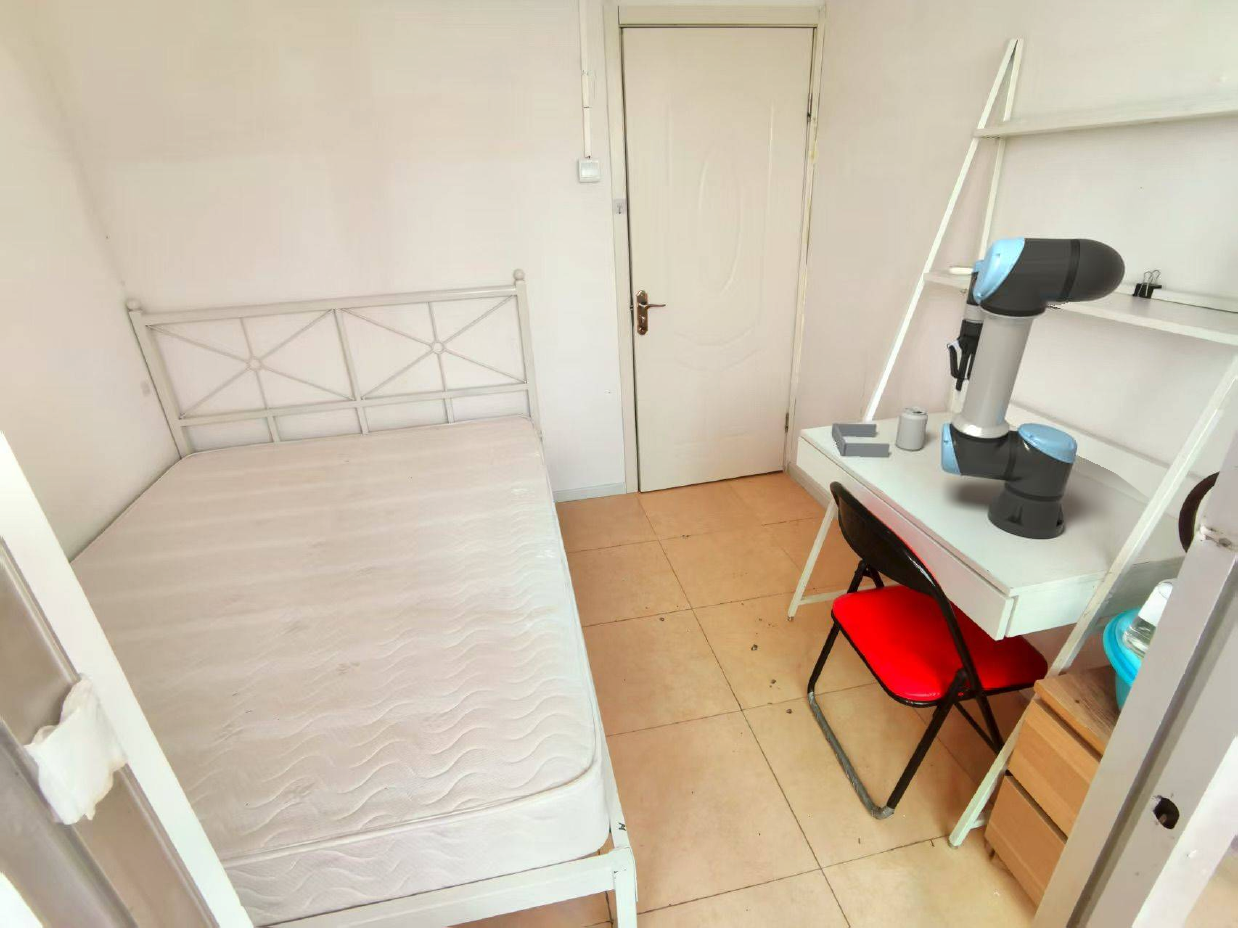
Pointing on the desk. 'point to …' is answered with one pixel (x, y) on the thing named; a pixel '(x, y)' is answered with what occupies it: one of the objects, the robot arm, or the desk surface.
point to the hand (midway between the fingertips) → (960, 401)
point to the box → (858, 448)
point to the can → (911, 428)
